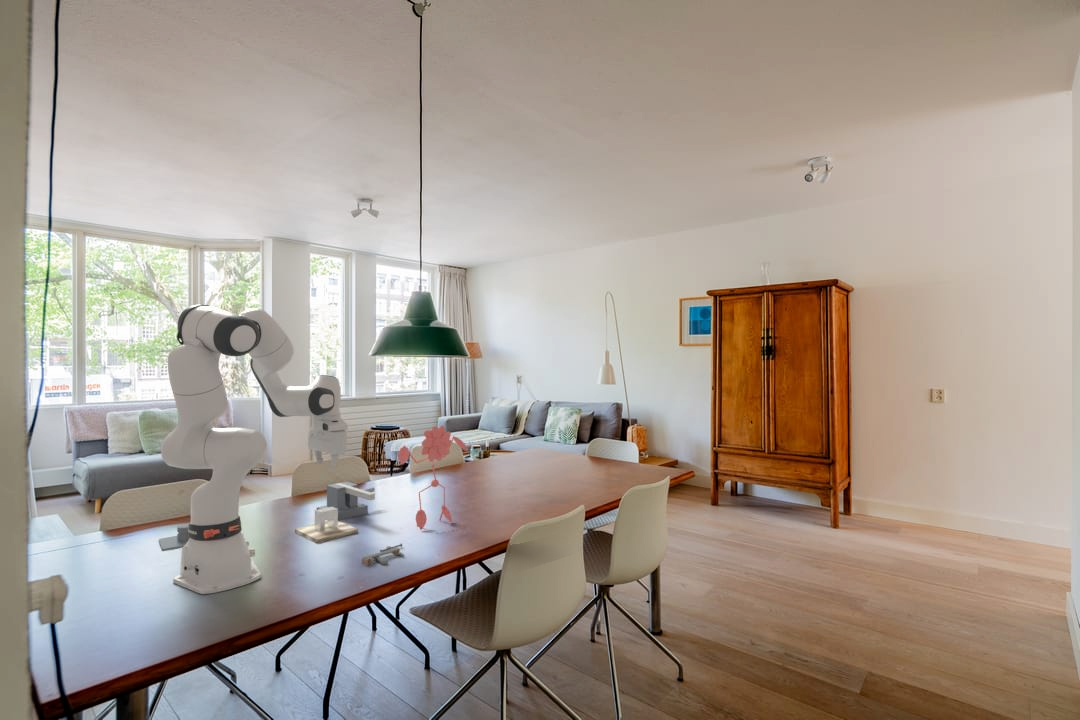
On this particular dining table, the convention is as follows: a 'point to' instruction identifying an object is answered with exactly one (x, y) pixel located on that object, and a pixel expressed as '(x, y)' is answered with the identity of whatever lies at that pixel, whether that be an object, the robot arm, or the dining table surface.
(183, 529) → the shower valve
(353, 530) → the ash board
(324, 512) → the white notched block
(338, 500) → the grey machinist vise
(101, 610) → the dining table surface
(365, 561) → the clamp
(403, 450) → the pink stick figure
